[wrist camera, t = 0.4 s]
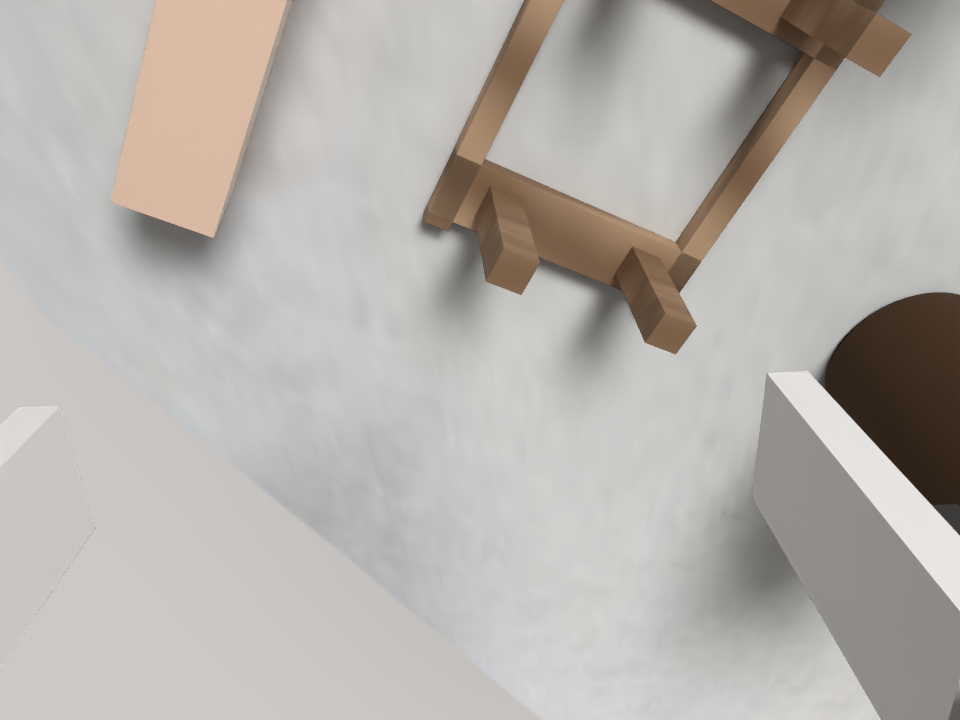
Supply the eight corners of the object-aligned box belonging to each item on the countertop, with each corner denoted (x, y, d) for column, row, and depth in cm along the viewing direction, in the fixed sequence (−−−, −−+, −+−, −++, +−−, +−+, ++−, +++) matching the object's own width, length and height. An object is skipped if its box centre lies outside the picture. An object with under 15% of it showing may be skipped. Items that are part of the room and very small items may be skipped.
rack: (610, -182, 29) (660, -173, 24) (880, -16, 33) (978, 26, 28) (423, 212, 38) (427, 288, 32) (657, 306, 42) (697, 388, 36)
